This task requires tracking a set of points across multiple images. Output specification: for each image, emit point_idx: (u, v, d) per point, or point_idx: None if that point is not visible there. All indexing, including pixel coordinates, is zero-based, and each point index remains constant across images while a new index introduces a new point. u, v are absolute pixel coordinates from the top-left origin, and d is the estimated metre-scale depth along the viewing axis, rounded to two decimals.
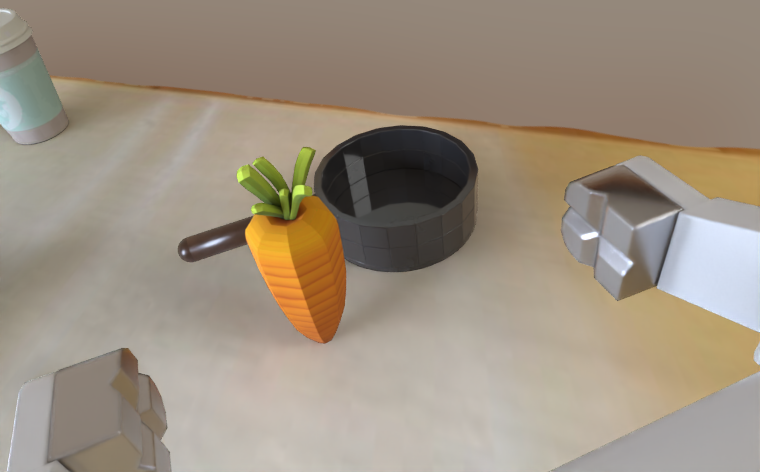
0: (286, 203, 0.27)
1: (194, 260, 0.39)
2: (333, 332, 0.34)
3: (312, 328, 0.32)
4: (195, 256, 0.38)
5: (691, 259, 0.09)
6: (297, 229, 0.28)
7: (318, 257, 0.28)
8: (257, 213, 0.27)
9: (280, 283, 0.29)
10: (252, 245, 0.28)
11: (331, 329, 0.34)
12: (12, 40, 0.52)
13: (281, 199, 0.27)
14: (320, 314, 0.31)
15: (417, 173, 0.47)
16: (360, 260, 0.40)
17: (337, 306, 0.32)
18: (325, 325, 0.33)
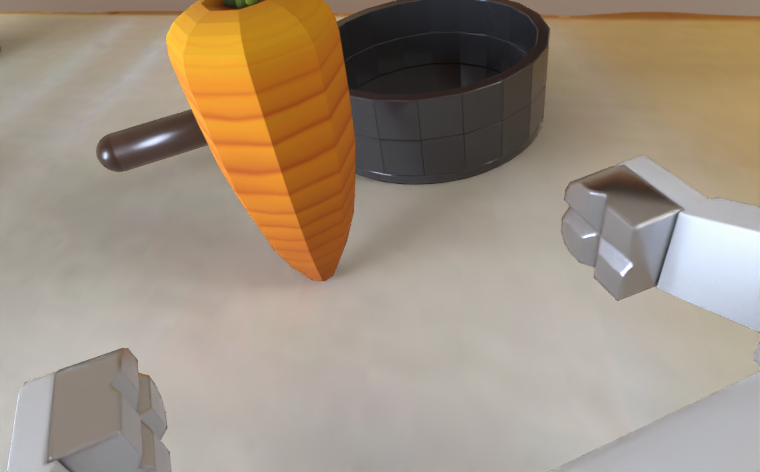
0: None
1: (122, 167, 0.25)
2: (335, 257, 0.21)
3: (299, 242, 0.19)
4: (122, 160, 0.25)
5: (691, 259, 0.09)
6: (260, 12, 0.14)
7: (303, 76, 0.15)
8: None
9: (232, 135, 0.16)
10: (176, 58, 0.15)
11: (332, 248, 0.20)
12: None
13: None
14: (312, 211, 0.18)
15: (451, 68, 0.34)
16: (375, 168, 0.27)
17: (341, 199, 0.18)
18: (320, 238, 0.19)
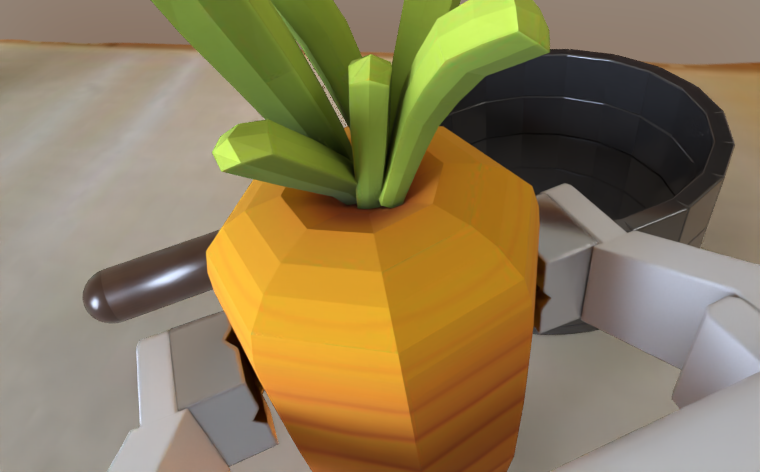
0: (377, 128, 0.06)
1: (119, 320, 0.17)
2: None
3: None
4: (120, 311, 0.17)
5: (609, 293, 0.09)
6: (424, 243, 0.06)
7: (500, 357, 0.07)
8: (246, 170, 0.05)
9: (338, 448, 0.08)
10: (231, 313, 0.07)
11: None
12: None
13: (357, 106, 0.06)
14: None
15: (549, 141, 0.26)
16: None
17: None
18: None
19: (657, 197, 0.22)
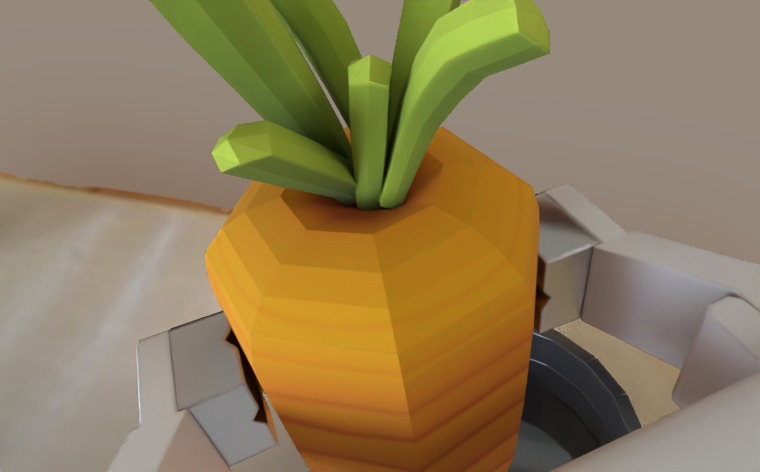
0: (377, 128, 0.06)
1: None
2: None
3: None
4: None
5: (609, 293, 0.09)
6: (424, 244, 0.06)
7: (500, 358, 0.07)
8: (246, 170, 0.05)
9: (338, 448, 0.08)
10: (231, 313, 0.07)
11: None
12: None
13: (357, 107, 0.06)
14: None
15: None
16: None
17: None
18: None
19: None
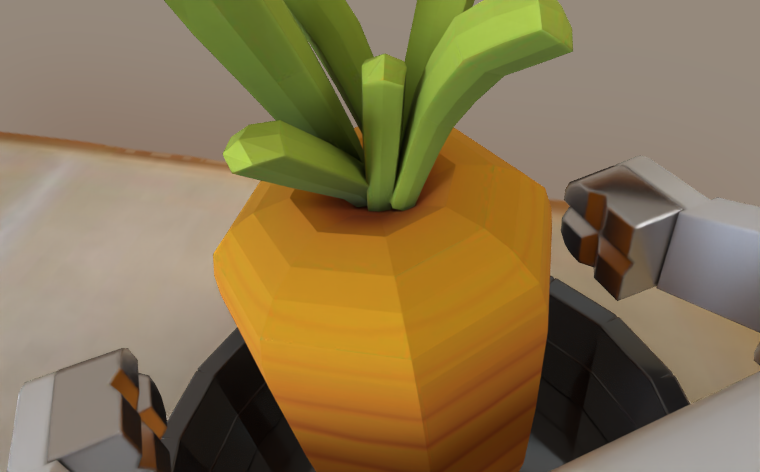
0: (391, 129, 0.06)
1: None
2: None
3: None
4: None
5: (691, 259, 0.09)
6: (437, 247, 0.06)
7: (514, 363, 0.07)
8: (257, 171, 0.05)
9: (348, 454, 0.08)
10: (239, 317, 0.07)
11: None
12: None
13: (370, 106, 0.06)
14: None
15: None
16: None
17: None
18: None
19: None
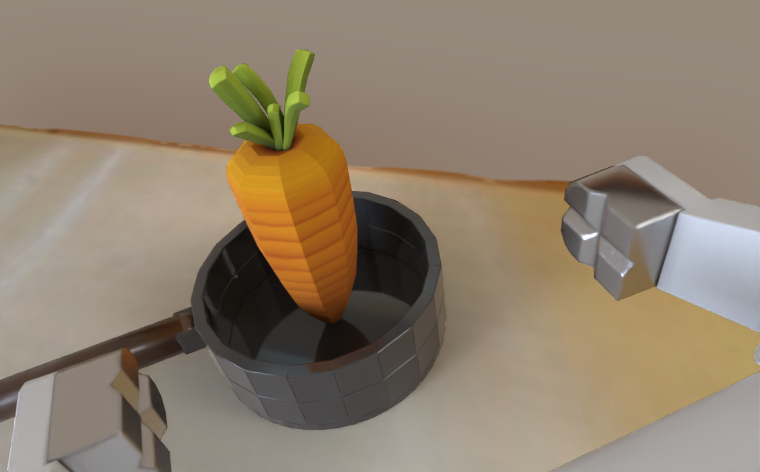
0: (277, 124, 0.21)
1: None
2: (342, 308, 0.27)
3: (316, 300, 0.26)
4: None
5: (691, 259, 0.09)
6: (293, 159, 0.21)
7: (321, 198, 0.22)
8: (239, 134, 0.20)
9: (272, 235, 0.22)
10: (235, 184, 0.22)
11: (340, 303, 0.27)
12: None
13: (270, 118, 0.20)
14: (326, 281, 0.25)
15: (363, 256, 0.33)
16: (260, 411, 0.26)
17: (347, 270, 0.25)
18: (331, 297, 0.26)
19: None
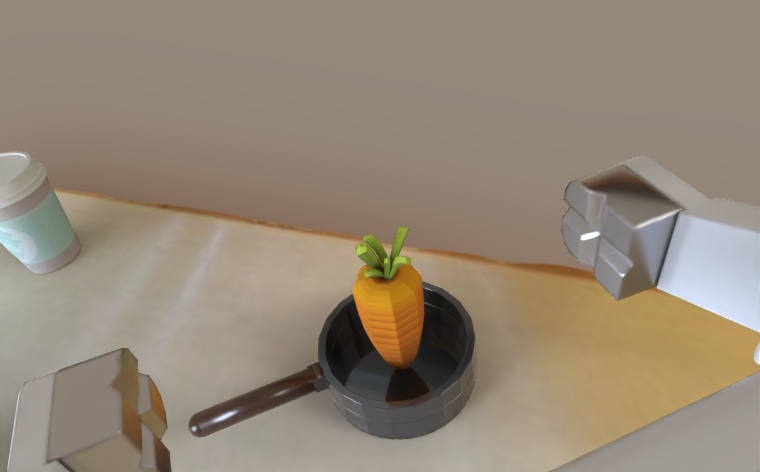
0: (388, 268, 0.37)
1: (204, 436, 0.40)
2: (411, 362, 0.43)
3: (398, 359, 0.42)
4: (205, 433, 0.40)
5: (691, 259, 0.09)
6: (396, 286, 0.37)
7: (410, 307, 0.38)
8: (368, 276, 0.36)
9: (380, 326, 0.38)
10: (360, 298, 0.38)
11: (411, 359, 0.43)
12: (27, 187, 0.55)
13: (385, 265, 0.36)
14: (406, 349, 0.41)
15: None
16: (364, 428, 0.42)
17: (418, 342, 0.41)
18: (407, 357, 0.42)
19: (459, 363, 0.45)
